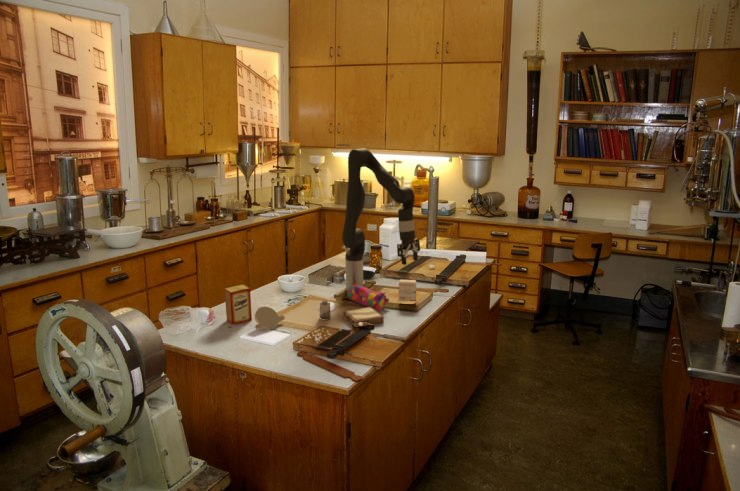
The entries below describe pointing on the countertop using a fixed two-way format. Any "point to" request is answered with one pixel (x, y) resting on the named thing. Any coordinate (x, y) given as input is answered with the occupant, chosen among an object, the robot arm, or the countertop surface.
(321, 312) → the weight
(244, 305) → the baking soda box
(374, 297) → the pencil case
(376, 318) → the tray
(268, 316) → the grey-brown rounded piece
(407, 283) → the ink box
